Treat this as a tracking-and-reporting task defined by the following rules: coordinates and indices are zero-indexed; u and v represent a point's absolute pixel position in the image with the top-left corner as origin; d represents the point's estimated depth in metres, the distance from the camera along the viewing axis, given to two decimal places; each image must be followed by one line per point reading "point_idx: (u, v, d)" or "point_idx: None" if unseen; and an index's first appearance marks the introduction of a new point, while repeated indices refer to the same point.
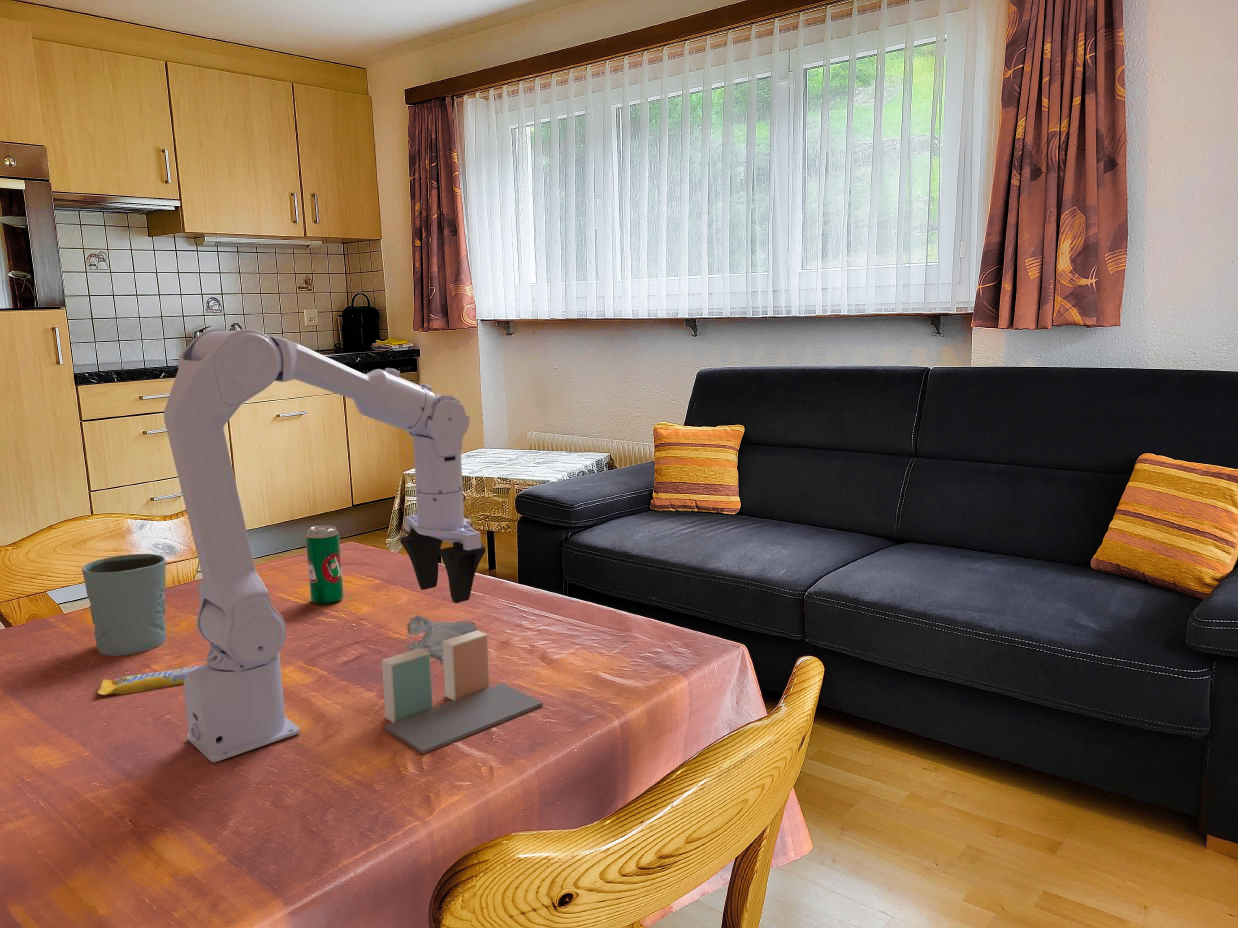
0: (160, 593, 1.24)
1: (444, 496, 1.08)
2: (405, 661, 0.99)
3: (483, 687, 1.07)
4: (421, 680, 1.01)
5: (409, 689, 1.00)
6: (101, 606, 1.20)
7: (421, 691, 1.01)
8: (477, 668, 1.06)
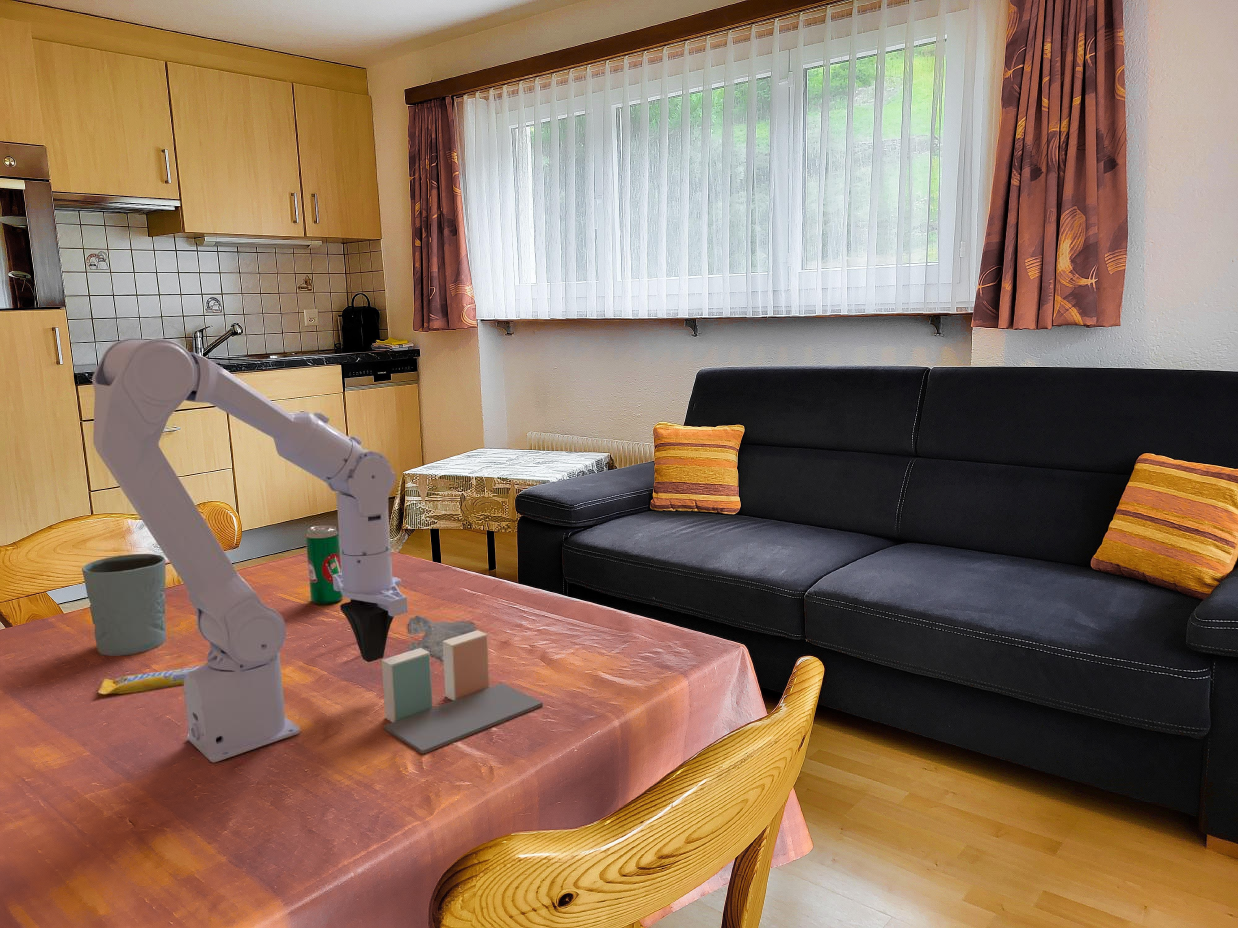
0: (160, 593, 1.24)
1: (369, 558, 1.02)
2: (404, 661, 0.99)
3: (483, 687, 1.07)
4: (421, 680, 1.01)
5: (409, 689, 1.00)
6: (101, 606, 1.20)
7: (421, 691, 1.01)
8: (477, 668, 1.06)
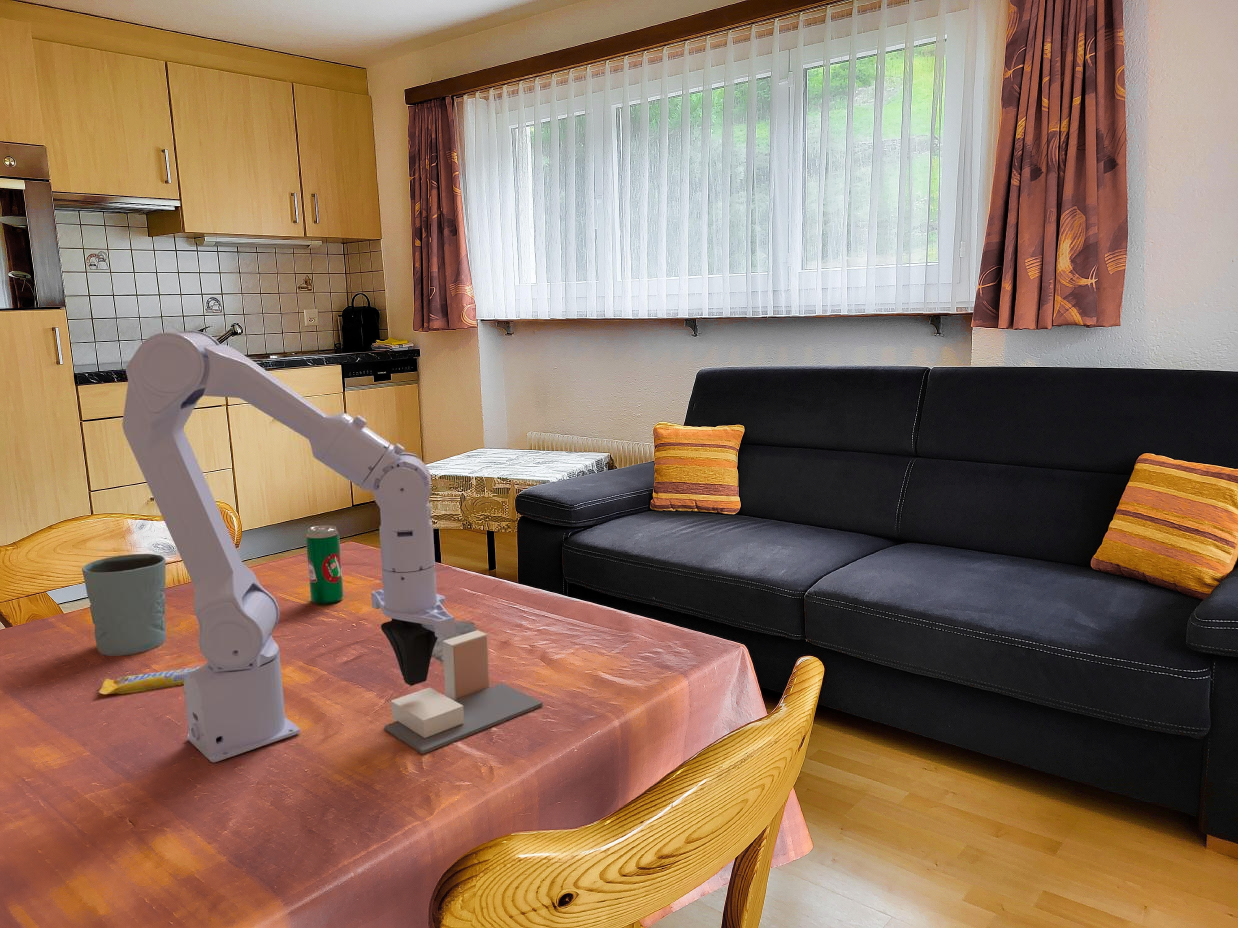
0: (160, 593, 1.24)
1: (413, 574, 0.95)
2: (438, 731, 0.96)
3: (483, 687, 1.07)
4: None
5: None
6: (101, 606, 1.20)
7: None
8: (477, 667, 1.06)
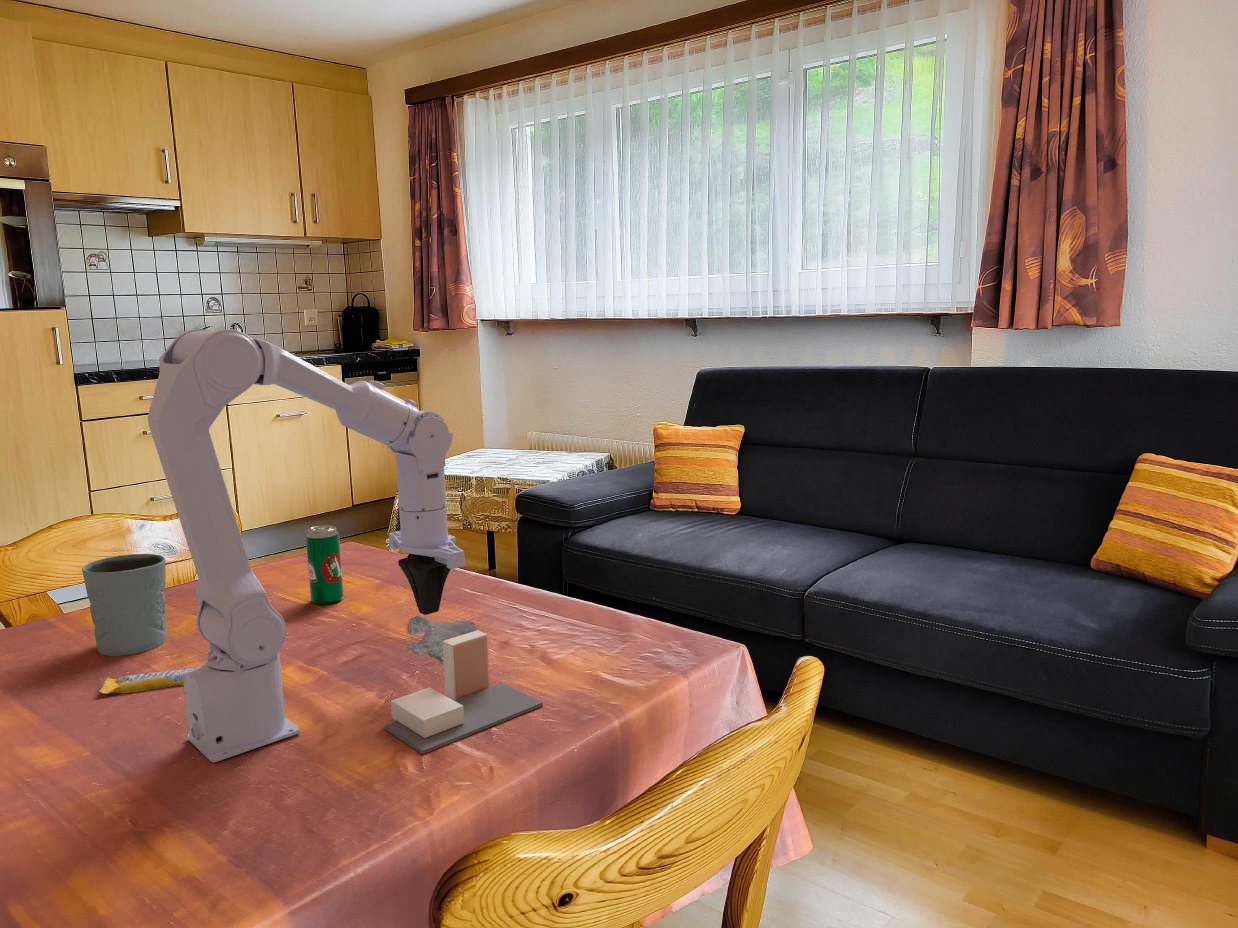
0: (160, 593, 1.24)
1: (427, 514, 1.07)
2: (438, 731, 0.96)
3: (483, 687, 1.07)
4: None
5: None
6: (101, 606, 1.20)
7: None
8: (477, 668, 1.06)
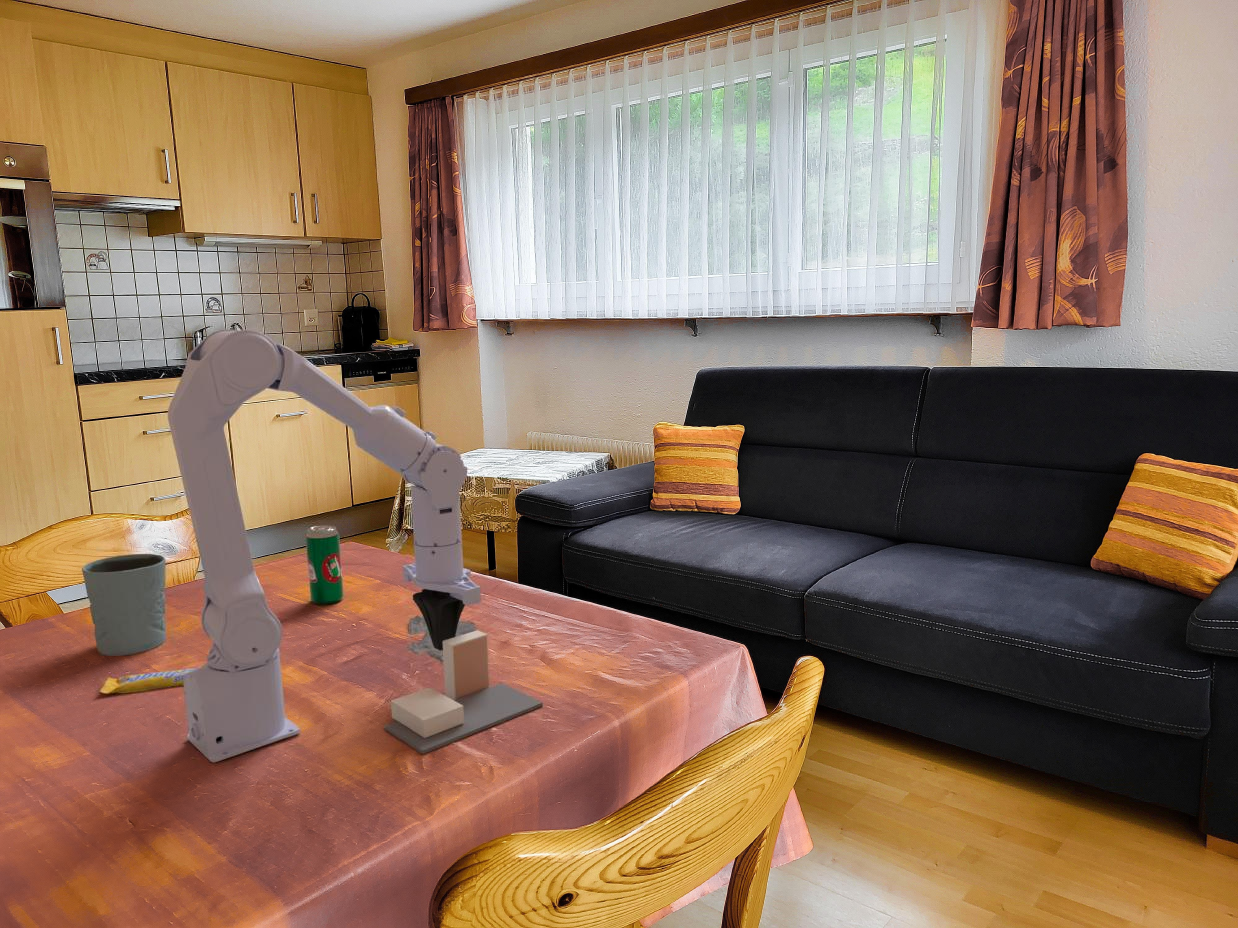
0: (160, 593, 1.24)
1: (443, 549, 1.05)
2: (438, 731, 0.96)
3: (483, 687, 1.07)
4: None
5: None
6: (101, 606, 1.20)
7: None
8: (477, 668, 1.06)
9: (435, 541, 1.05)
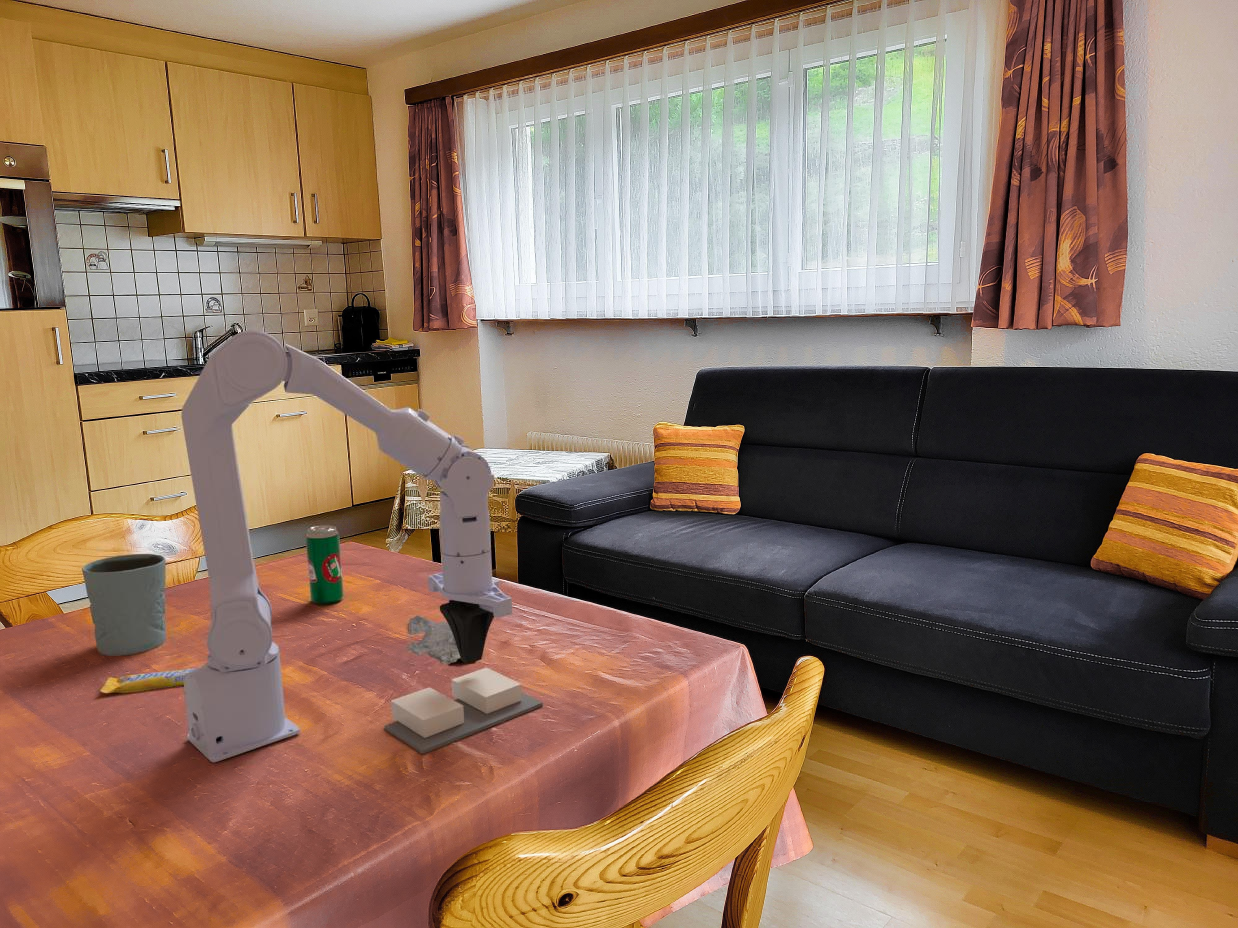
0: (160, 593, 1.24)
1: (472, 558, 1.01)
2: (438, 731, 0.96)
3: None
4: None
5: None
6: (101, 606, 1.20)
7: None
8: None
9: (458, 550, 1.00)
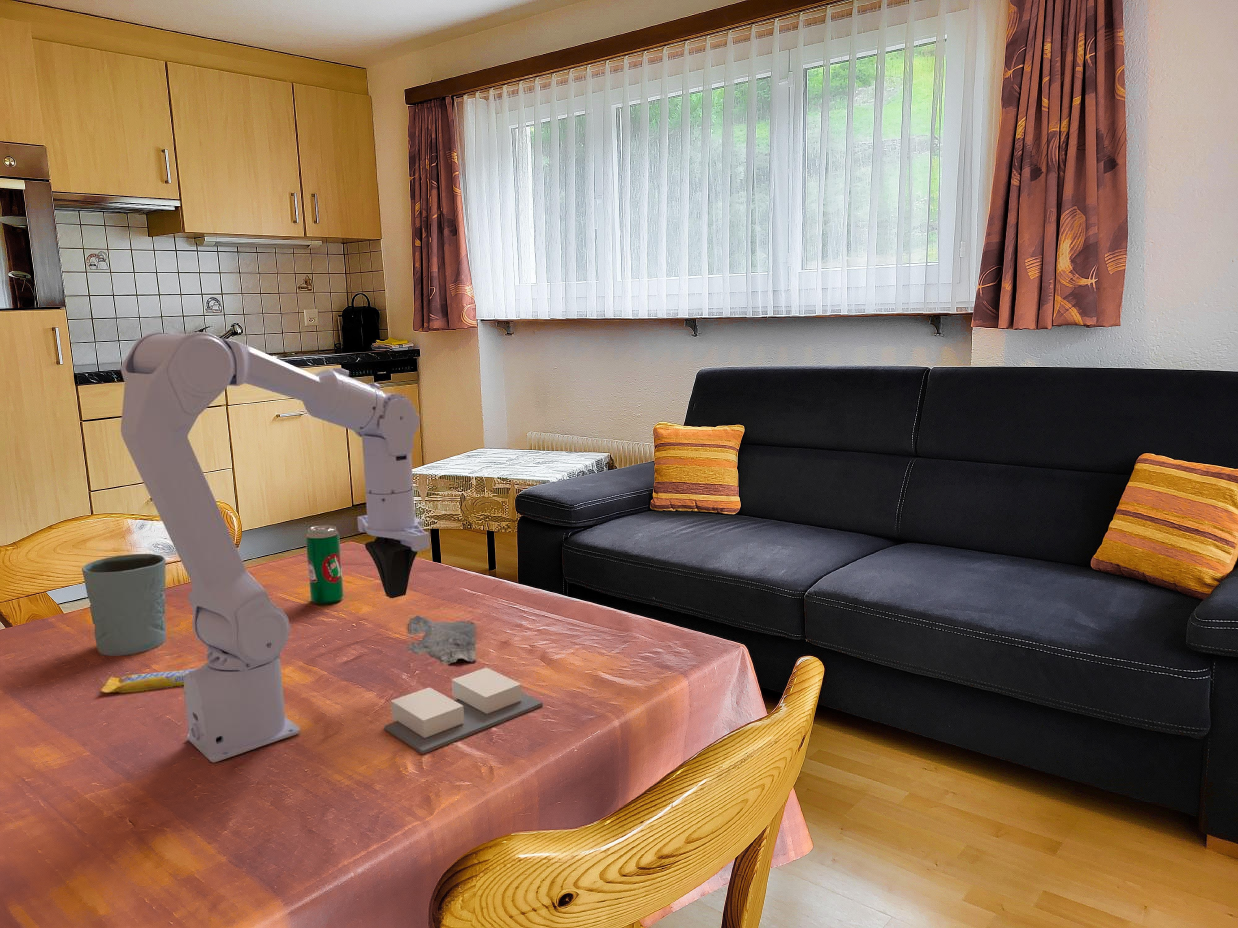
0: (160, 593, 1.24)
1: (393, 496, 1.06)
2: (438, 731, 0.96)
3: None
4: None
5: None
6: (101, 606, 1.20)
7: None
8: None
9: (392, 488, 1.06)
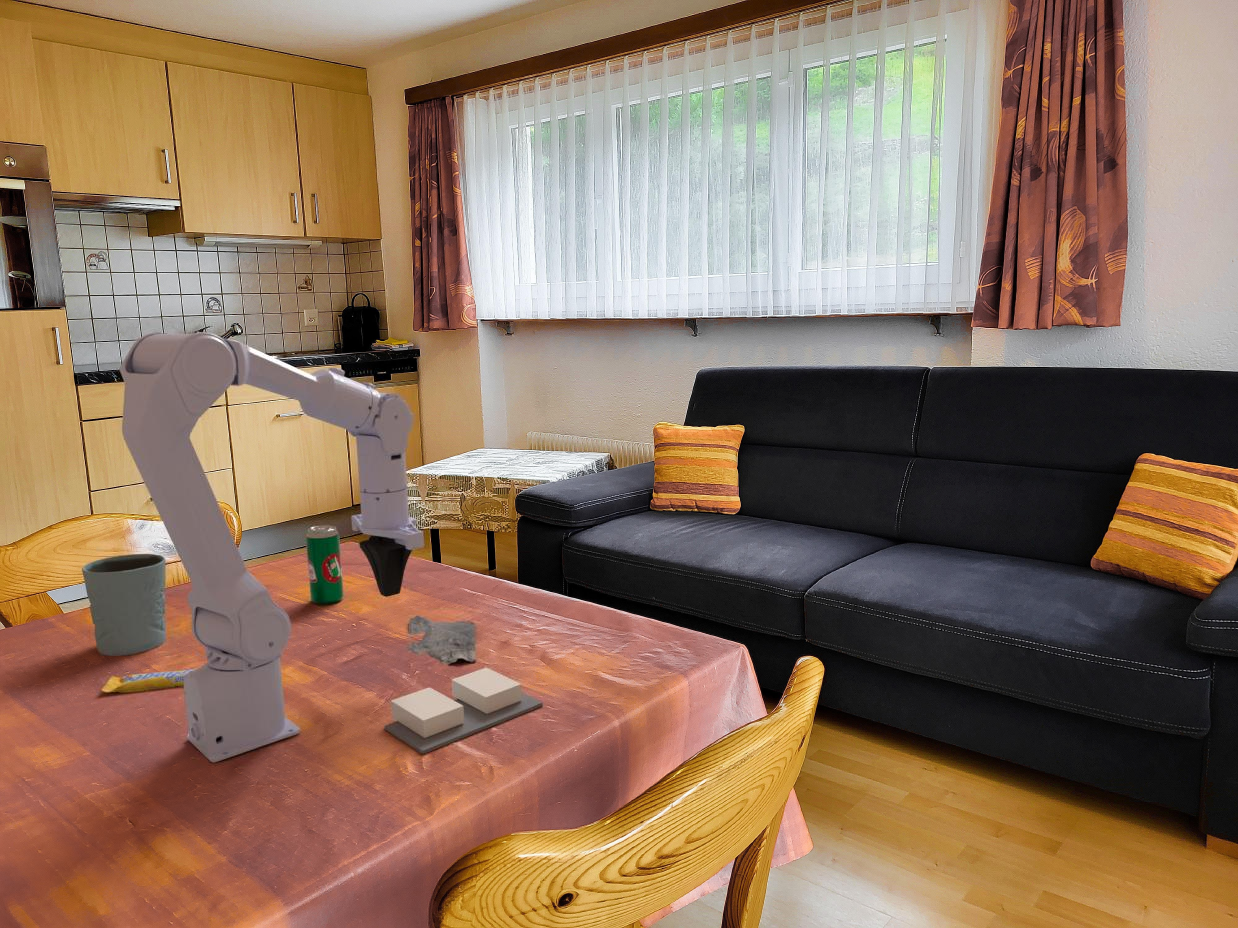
0: (160, 593, 1.24)
1: (387, 495, 1.07)
2: (438, 731, 0.96)
3: None
4: None
5: None
6: (101, 606, 1.20)
7: None
8: None
9: (387, 487, 1.07)
